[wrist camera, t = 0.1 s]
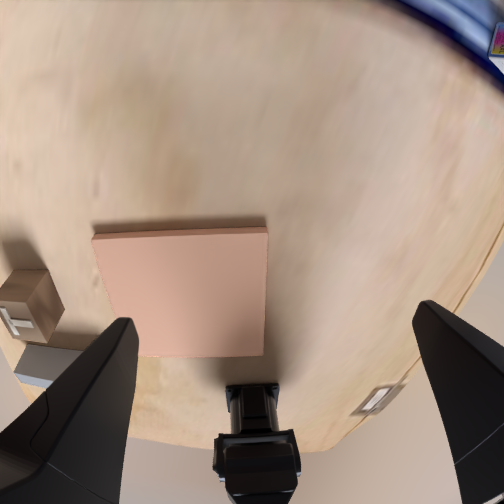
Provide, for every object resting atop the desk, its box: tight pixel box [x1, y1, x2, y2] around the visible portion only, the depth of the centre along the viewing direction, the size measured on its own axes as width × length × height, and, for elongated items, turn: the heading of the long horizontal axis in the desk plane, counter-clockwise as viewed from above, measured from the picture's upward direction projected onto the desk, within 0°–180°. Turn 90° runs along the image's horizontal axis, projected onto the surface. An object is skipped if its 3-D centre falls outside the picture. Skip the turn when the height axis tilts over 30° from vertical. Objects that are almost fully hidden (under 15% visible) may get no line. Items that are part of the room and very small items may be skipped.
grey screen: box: [14, 344, 83, 388], centre depth 28 cm, size 2×14×5 cm, turn 90°
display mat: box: [91, 227, 268, 357], centre depth 26 cm, size 14×14×1 cm
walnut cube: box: [0, 270, 65, 343], centre depth 23 cm, size 5×5×5 cm
